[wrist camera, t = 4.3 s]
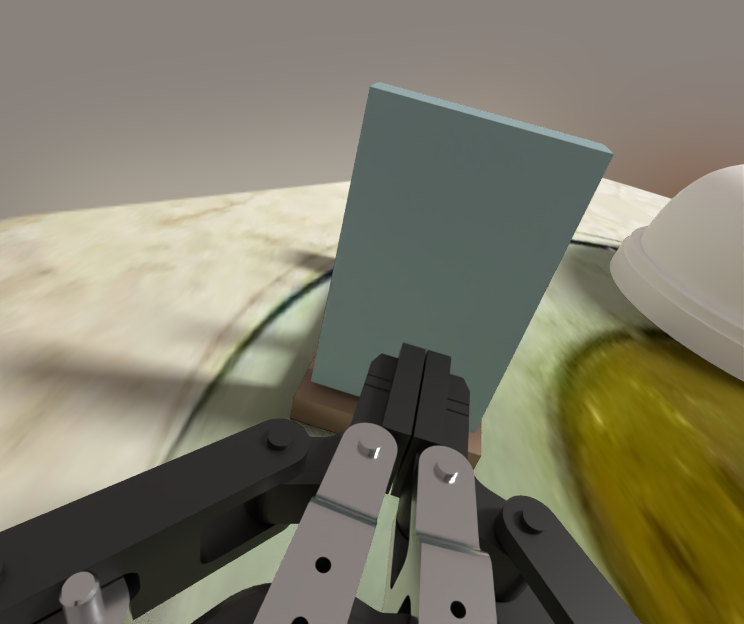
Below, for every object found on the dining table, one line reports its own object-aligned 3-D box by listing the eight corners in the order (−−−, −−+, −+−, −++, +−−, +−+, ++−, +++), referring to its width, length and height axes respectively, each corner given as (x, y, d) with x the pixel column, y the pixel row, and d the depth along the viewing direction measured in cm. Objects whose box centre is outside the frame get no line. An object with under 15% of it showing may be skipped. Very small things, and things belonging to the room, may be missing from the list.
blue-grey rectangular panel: (474, 433, 22) (613, 154, 15) (311, 381, 22) (370, 86, 15) (476, 373, 26) (587, 128, 18) (336, 330, 26) (393, 74, 19)
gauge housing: (470, 476, 22) (514, 392, 19) (289, 418, 23) (306, 327, 20) (476, 295, 37) (501, 232, 34) (368, 262, 38) (384, 198, 35)
